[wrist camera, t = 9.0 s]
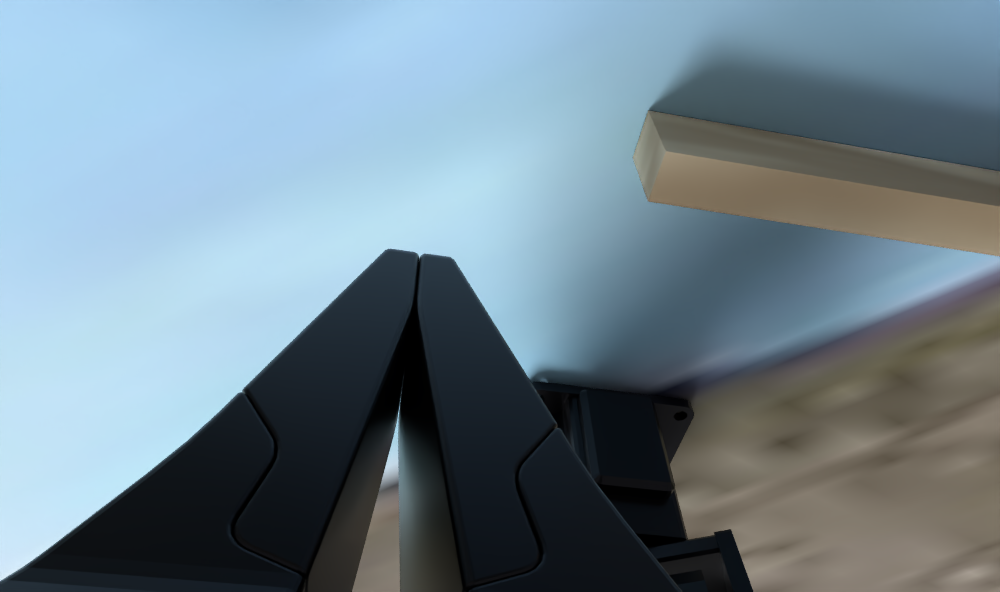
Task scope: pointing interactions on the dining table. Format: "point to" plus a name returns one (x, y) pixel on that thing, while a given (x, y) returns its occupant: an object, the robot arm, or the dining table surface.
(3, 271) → the dining table surface
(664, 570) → the robot arm
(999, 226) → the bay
